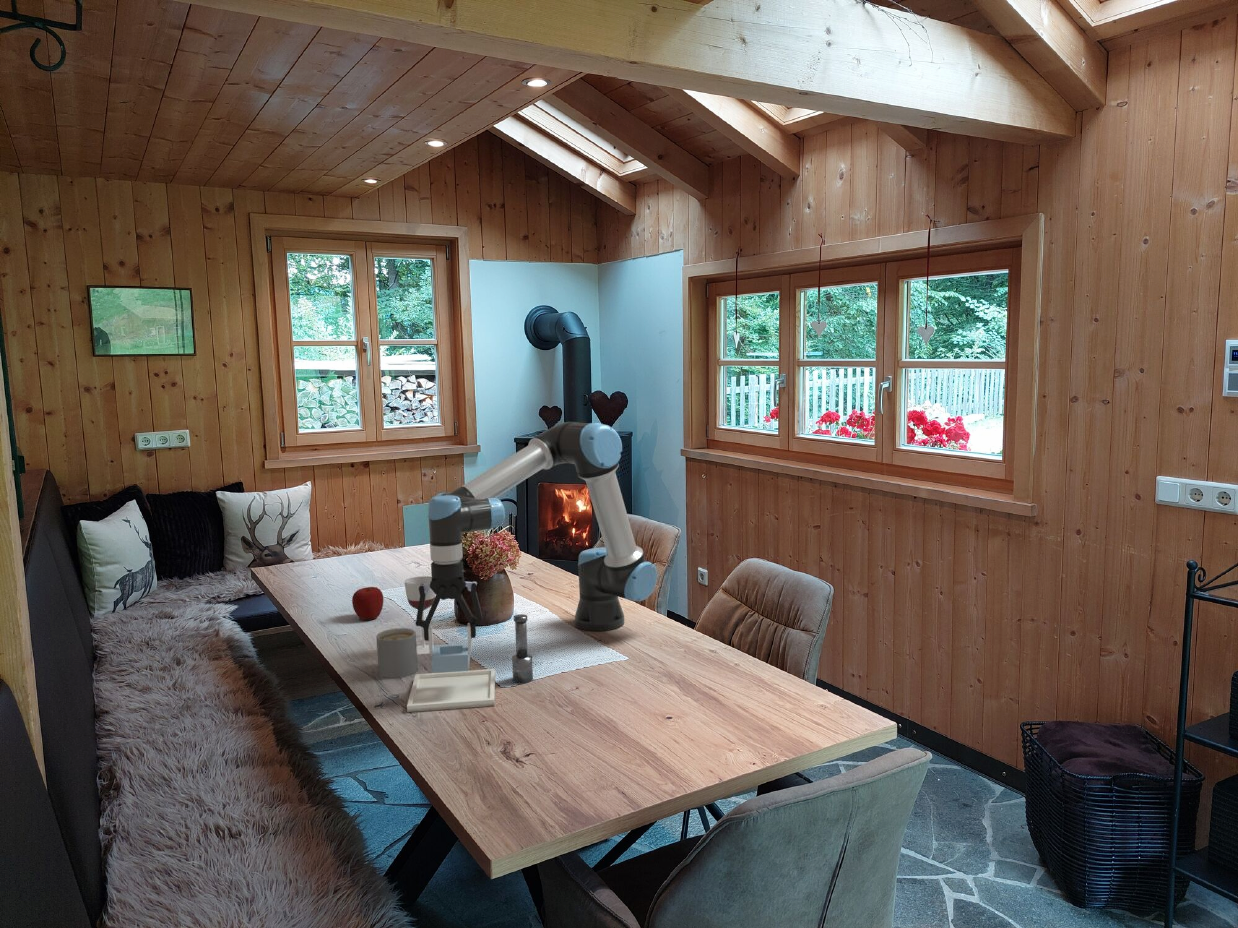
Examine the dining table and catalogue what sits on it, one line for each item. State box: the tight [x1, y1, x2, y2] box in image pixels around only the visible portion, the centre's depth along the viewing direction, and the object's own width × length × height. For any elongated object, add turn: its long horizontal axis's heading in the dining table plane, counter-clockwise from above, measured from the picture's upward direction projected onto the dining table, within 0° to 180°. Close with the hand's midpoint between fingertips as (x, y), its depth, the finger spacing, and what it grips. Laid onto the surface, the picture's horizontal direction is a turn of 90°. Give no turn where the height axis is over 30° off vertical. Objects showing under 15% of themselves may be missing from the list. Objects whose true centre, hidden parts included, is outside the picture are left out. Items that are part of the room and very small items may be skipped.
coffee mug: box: [375, 627, 418, 679], centre depth 225 cm, size 13×10×10 cm
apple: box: [351, 586, 384, 621], centre depth 270 cm, size 10×10×10 cm
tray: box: [406, 668, 496, 713], centre depth 209 cm, size 20×20×2 cm
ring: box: [431, 642, 471, 673], centre depth 208 cm, size 8×8×4 cm
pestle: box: [511, 614, 534, 684], centre depth 216 cm, size 5×5×16 cm
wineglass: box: [404, 575, 436, 655], centre depth 239 cm, size 8×9×20 cm
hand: (450, 651), depth 208 cm, fingers closed on ring, 8 cm apart
